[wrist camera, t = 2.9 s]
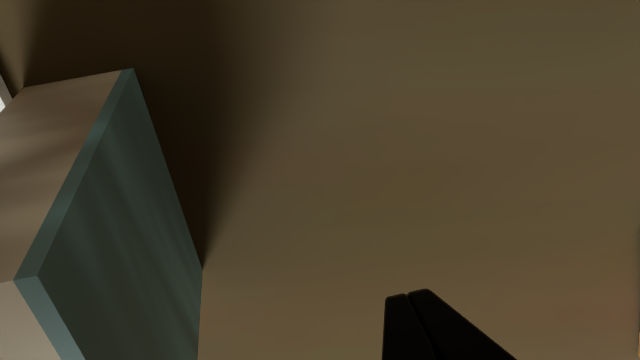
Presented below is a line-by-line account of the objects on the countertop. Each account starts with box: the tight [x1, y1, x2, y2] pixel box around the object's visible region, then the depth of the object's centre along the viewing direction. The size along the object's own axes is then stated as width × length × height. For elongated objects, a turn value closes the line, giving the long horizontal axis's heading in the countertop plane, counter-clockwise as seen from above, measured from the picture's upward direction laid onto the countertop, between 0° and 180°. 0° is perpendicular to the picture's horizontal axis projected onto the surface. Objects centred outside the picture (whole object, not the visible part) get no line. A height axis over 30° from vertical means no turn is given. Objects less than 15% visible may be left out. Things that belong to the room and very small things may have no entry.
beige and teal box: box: [0, 68, 202, 360], centre depth 12 cm, size 3×7×8 cm, turn 8°
